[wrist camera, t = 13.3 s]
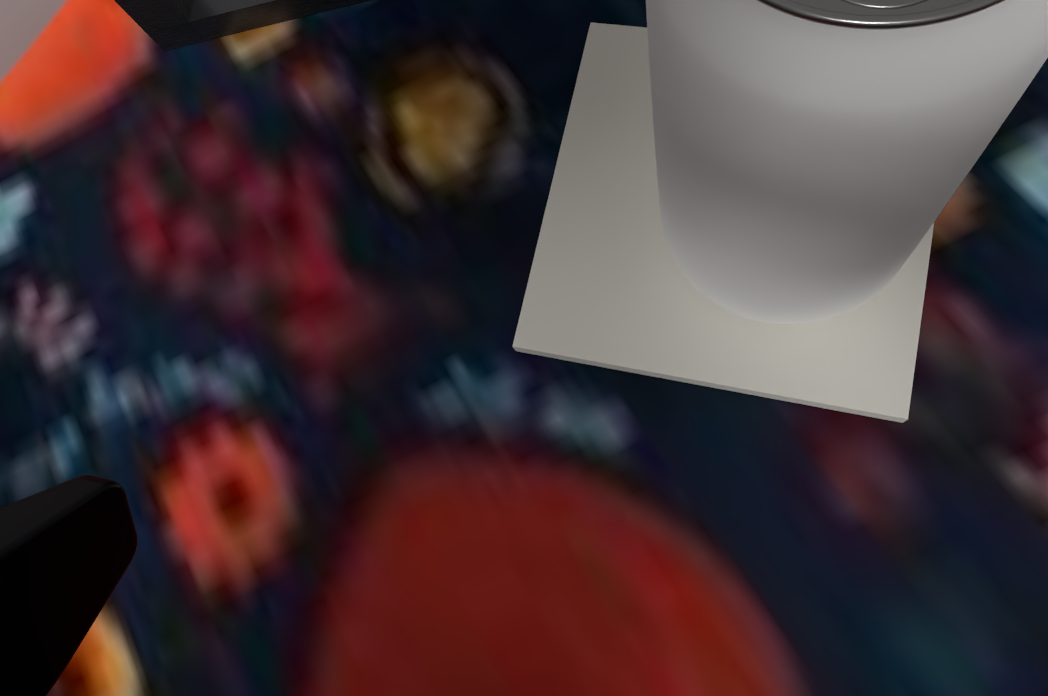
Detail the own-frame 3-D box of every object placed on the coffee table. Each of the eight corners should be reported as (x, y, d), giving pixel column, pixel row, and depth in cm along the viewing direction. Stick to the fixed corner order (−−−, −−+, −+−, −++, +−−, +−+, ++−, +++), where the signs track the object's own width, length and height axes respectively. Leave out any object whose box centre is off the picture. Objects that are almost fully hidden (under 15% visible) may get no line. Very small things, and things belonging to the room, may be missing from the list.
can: (664, 334, 22) (642, 78, 11) (656, 112, 24) (630, -312, 13) (929, 324, 21) (1215, 25, 10) (901, 92, 23) (1118, -395, 11)
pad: (903, 422, 21) (907, 418, 21) (515, 350, 23) (512, 346, 23) (950, 66, 23) (956, 56, 23) (592, 32, 26) (590, 22, 25)
